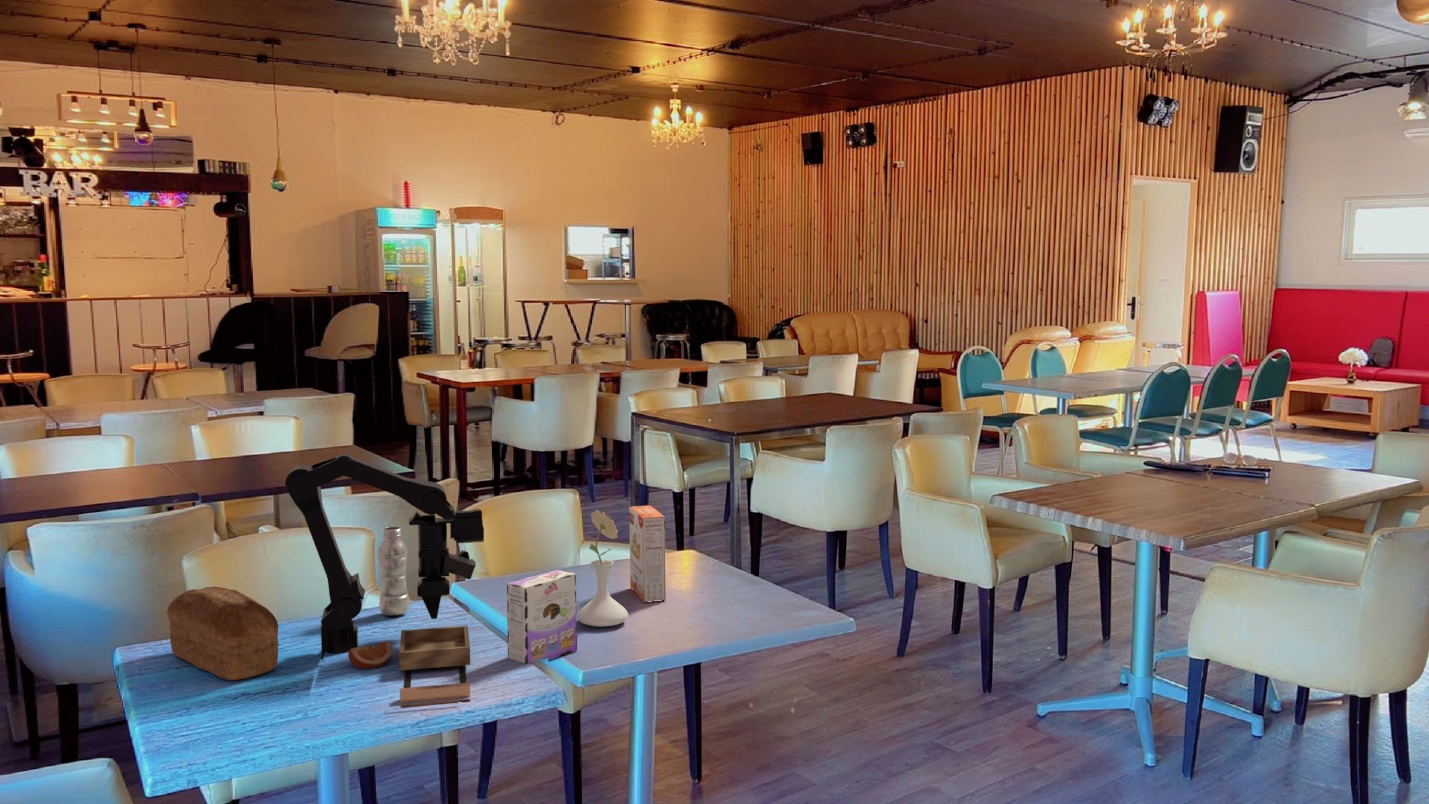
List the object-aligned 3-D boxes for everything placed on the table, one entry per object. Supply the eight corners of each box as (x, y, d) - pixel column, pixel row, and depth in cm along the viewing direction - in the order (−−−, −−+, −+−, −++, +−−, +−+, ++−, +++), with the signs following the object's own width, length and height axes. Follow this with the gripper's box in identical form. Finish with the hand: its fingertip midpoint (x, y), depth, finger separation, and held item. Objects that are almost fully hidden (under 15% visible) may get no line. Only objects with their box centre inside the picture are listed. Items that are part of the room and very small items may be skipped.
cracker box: (628, 588, 265) (628, 505, 263) (652, 586, 266) (651, 504, 264) (641, 603, 251) (641, 517, 249) (666, 601, 253) (666, 515, 251)
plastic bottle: (401, 619, 238) (399, 532, 236) (373, 617, 240) (371, 530, 238) (415, 611, 244) (412, 526, 243) (388, 609, 246) (385, 524, 244)
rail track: (399, 708, 187) (398, 691, 187) (403, 656, 214) (403, 641, 214) (471, 701, 190) (470, 685, 190) (466, 651, 217) (466, 637, 217)
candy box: (558, 645, 221) (557, 568, 220) (578, 651, 217) (577, 572, 216) (506, 662, 211) (505, 581, 209) (526, 669, 207) (525, 586, 205)
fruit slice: (384, 660, 212) (384, 635, 211) (399, 668, 207) (399, 644, 206) (343, 669, 206) (343, 644, 206) (358, 678, 201) (357, 653, 201)
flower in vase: (635, 627, 233) (634, 515, 231) (584, 633, 229) (583, 519, 226) (618, 611, 245) (617, 504, 243) (569, 616, 241) (568, 508, 239)
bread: (220, 641, 223) (217, 574, 222) (289, 671, 205) (286, 599, 204) (161, 656, 214) (157, 586, 212) (227, 689, 196) (224, 613, 195)
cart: (399, 674, 200) (399, 652, 200) (401, 650, 214) (401, 630, 213) (470, 668, 203) (469, 647, 203) (468, 645, 217) (467, 625, 217)
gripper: (474, 553, 212) (475, 629, 213) (471, 533, 230) (472, 603, 231) (416, 556, 209) (418, 633, 210) (417, 535, 227) (419, 606, 228)
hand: (434, 618), depth 220 cm, fingers closed
